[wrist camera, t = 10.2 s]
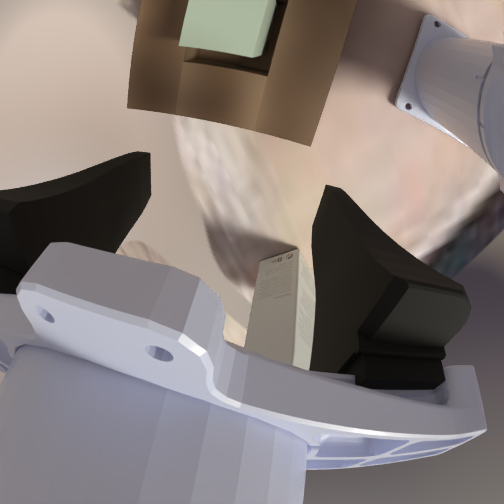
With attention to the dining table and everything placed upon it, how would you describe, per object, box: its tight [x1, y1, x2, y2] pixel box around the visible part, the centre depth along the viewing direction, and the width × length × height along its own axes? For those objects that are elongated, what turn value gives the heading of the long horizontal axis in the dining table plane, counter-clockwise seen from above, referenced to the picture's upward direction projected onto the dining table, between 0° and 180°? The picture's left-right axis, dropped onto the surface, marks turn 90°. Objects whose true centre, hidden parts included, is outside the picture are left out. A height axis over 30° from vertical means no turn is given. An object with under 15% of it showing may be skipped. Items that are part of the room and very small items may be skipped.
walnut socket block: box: [127, 0, 358, 147], centre depth 14 cm, size 12×12×4 cm
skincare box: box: [244, 249, 316, 370], centre depth 24 cm, size 6×4×12 cm
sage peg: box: [179, 0, 279, 58], centre depth 12 cm, size 4×4×6 cm
